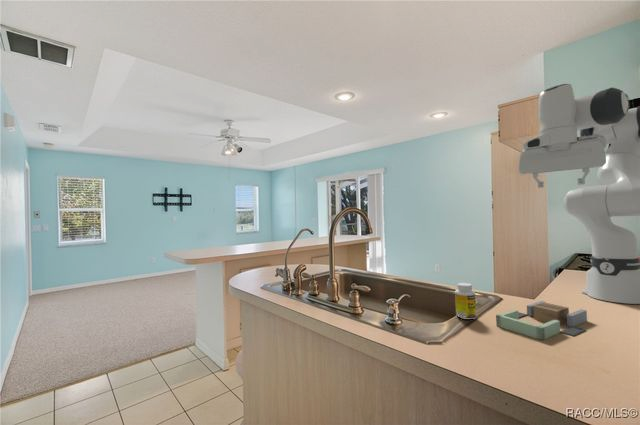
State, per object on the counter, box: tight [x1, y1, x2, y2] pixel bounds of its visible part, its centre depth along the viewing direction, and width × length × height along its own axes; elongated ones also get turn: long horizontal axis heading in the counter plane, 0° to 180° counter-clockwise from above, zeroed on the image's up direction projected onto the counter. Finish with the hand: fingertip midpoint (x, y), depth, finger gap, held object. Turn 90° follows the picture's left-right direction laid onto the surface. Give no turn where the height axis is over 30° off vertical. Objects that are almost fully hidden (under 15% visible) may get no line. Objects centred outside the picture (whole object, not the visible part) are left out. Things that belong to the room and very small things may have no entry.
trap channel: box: [495, 300, 588, 341], centre depth 83 cm, size 23×17×3 cm
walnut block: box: [533, 302, 570, 325], centre depth 85 cm, size 6×6×4 cm
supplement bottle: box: [454, 282, 477, 320], centre depth 90 cm, size 6×6×10 cm
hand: (560, 186), depth 89 cm, fingers open, 8 cm apart
